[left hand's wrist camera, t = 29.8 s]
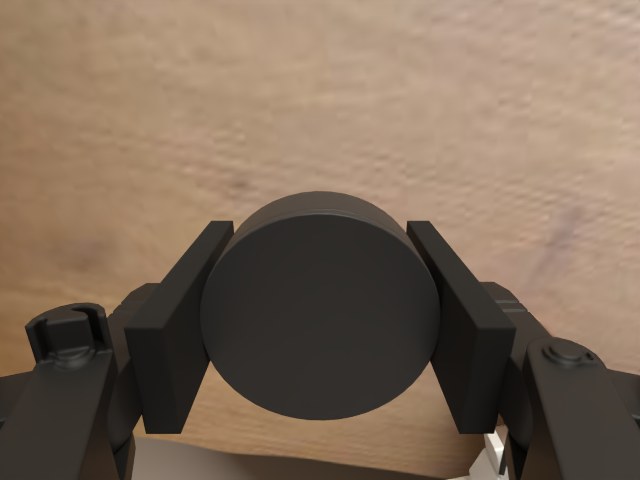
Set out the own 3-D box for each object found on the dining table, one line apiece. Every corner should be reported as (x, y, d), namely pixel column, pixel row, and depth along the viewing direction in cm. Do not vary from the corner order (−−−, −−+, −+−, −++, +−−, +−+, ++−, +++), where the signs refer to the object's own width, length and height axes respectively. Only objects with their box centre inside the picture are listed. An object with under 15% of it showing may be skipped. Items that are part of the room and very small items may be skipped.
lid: (180, 243, 11) (151, 275, 9) (376, 153, 10) (389, 168, 8) (276, 394, 13) (268, 446, 11) (447, 331, 12) (472, 376, 10)
